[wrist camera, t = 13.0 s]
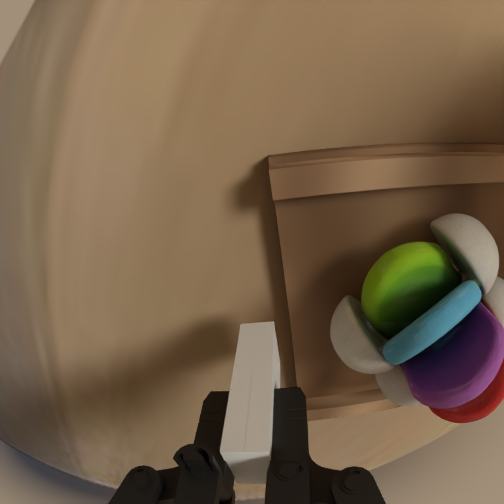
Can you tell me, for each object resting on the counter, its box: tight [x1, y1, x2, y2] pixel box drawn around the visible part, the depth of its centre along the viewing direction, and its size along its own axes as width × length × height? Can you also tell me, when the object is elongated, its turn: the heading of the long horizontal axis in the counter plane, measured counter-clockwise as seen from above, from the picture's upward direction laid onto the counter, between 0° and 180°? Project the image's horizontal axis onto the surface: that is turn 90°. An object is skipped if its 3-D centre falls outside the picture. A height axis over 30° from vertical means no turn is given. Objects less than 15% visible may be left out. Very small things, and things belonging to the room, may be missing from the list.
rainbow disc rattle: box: [330, 213, 504, 423], centre depth 11 cm, size 8×10×7 cm
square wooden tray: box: [268, 143, 504, 421], centre depth 14 cm, size 16×16×4 cm
